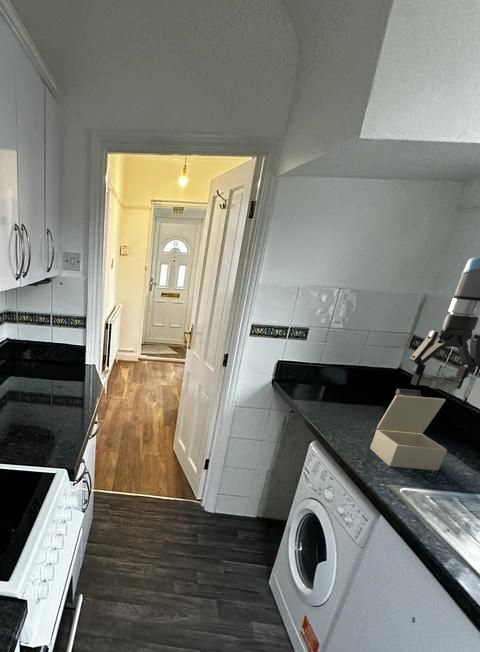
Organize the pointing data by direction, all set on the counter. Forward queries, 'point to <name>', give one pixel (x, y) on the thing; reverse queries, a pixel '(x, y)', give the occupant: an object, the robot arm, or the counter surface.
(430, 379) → the egg carton
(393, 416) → the box lid
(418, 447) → the beige open box
